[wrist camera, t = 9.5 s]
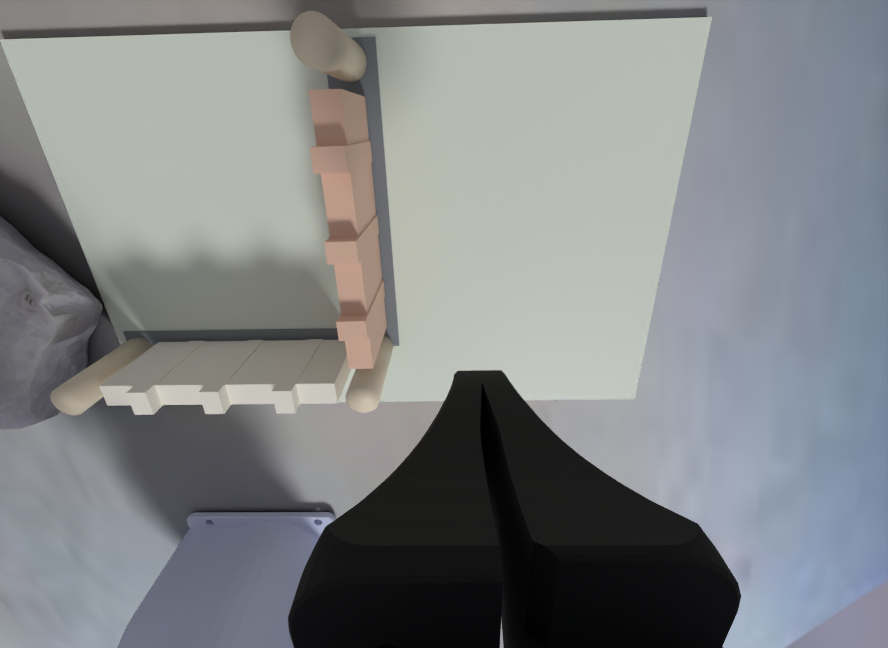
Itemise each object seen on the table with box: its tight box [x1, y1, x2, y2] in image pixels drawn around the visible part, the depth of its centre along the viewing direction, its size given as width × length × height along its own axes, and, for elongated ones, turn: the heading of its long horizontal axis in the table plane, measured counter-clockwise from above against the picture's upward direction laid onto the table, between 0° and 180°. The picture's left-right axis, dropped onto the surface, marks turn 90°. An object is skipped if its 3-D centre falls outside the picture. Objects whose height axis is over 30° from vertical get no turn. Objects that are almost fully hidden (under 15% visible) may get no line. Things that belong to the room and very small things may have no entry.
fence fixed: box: [50, 335, 394, 415], centre depth 20 cm, size 14×1×5 cm, turn 91°
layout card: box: [0, 17, 712, 402], centre depth 20 cm, size 27×17×1 cm, turn 91°
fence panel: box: [290, 11, 387, 369], centre depth 16 cm, size 12×1×5 cm, turn 2°
